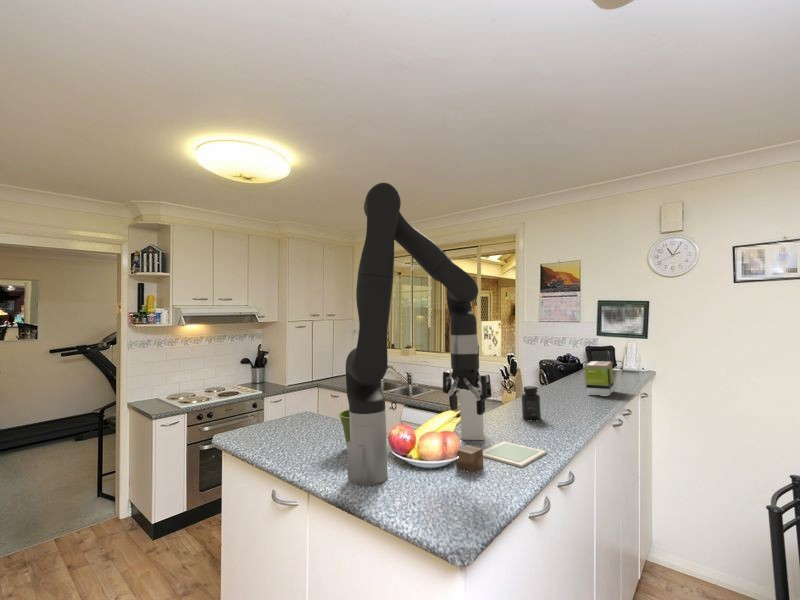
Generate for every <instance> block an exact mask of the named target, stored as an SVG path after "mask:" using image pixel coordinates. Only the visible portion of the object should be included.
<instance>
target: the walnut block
mask: <svg viewBox="0 0 800 600" xmlns="http://www.w3.org/2000/svg"><path fill="white" fill-rule="evenodd" d="M459 448H460V449H459ZM459 448H458V449H459V450H458V452H457V456H459V458H458V459H456V458H455V462H456V469H457V468H459V469H458V470H460V469H461V471H463V470H465V471H464V472H466V471H468V472H467V473H469V472H470V474H474V473H476V472H478V471H480V470H481V469H483V468H484V457H483V449H484V448H481V447H478V446H473V445H468V444H466V445H464V446H461V447H459ZM477 470H478V471H477ZM473 472H474V473H473Z"/></svg>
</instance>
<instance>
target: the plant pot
mask: <svg viewBox="0 0 800 600" xmlns="http://www.w3.org/2000/svg"><path fill="white" fill-rule="evenodd" d="M338 417H339V418H340V422H341V424H342V428H343V433H344V438H345V445H347V442H349V441H350V415H349V409H346V410H343V411H340V412H339V413H338Z"/></svg>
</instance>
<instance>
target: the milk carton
mask: <svg viewBox="0 0 800 600" xmlns="http://www.w3.org/2000/svg"><path fill="white" fill-rule="evenodd" d="M478 383H479V384H480V386H481V383H480V380H479V381H478ZM481 387H482V386H481ZM475 388H476V387H475ZM476 401H477V398H476V397H475V395H474V394H473V393H472V392H471V391H470V390H465V389H460V390H459V409H460V410H459V411H460V415H459V416H460V436H461V440H462V441H463V440H464V441H484V440H485V432H484V431H485V430H484V428H485V427H484V413H483V414H482V415H477V405H476Z"/></svg>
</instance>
